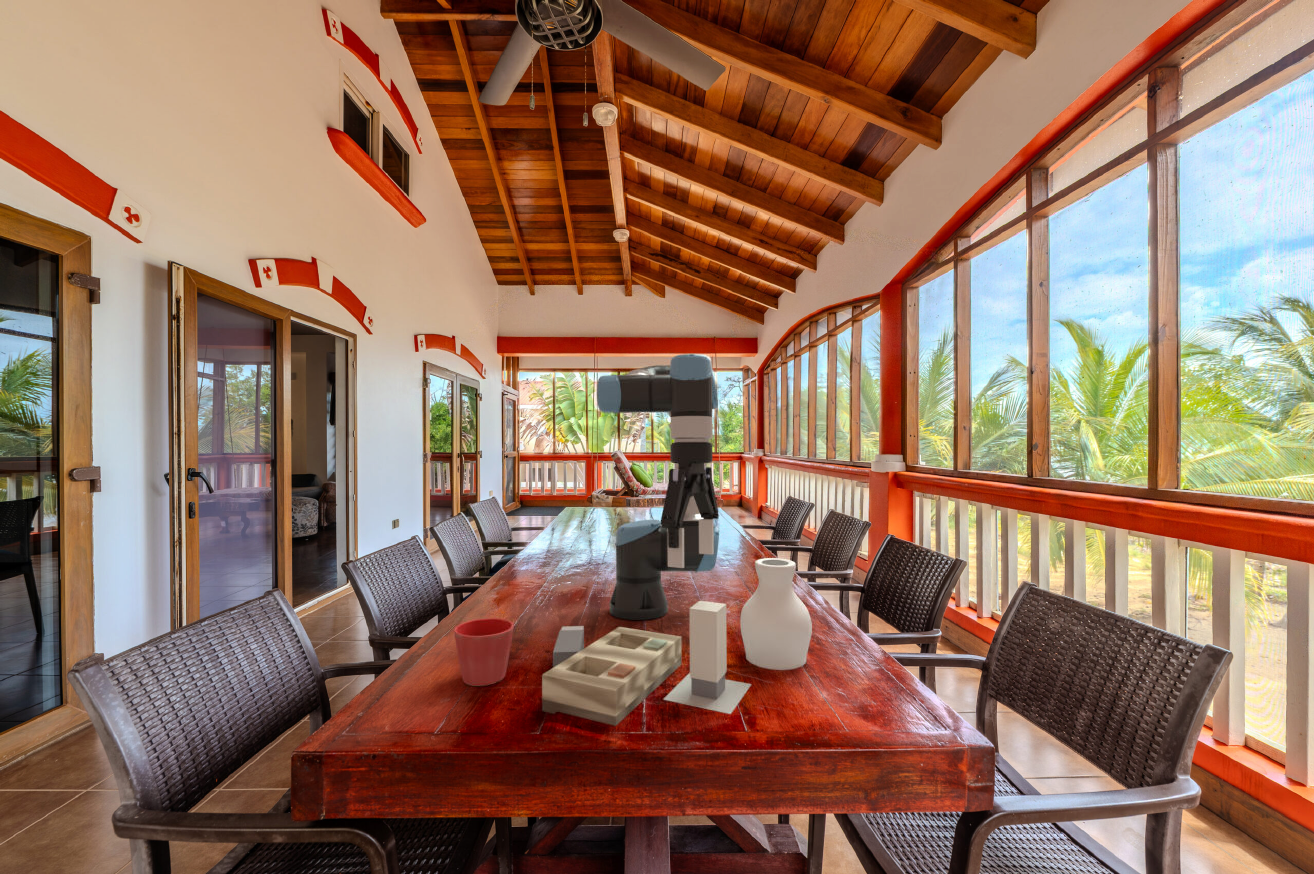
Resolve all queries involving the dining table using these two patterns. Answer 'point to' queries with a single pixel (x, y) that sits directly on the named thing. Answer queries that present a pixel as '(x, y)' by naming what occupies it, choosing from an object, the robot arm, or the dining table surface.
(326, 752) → the dining table surface
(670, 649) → the socket box
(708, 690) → the plug
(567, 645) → the plug
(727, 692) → the mat
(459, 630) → the flower pot
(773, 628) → the vase
